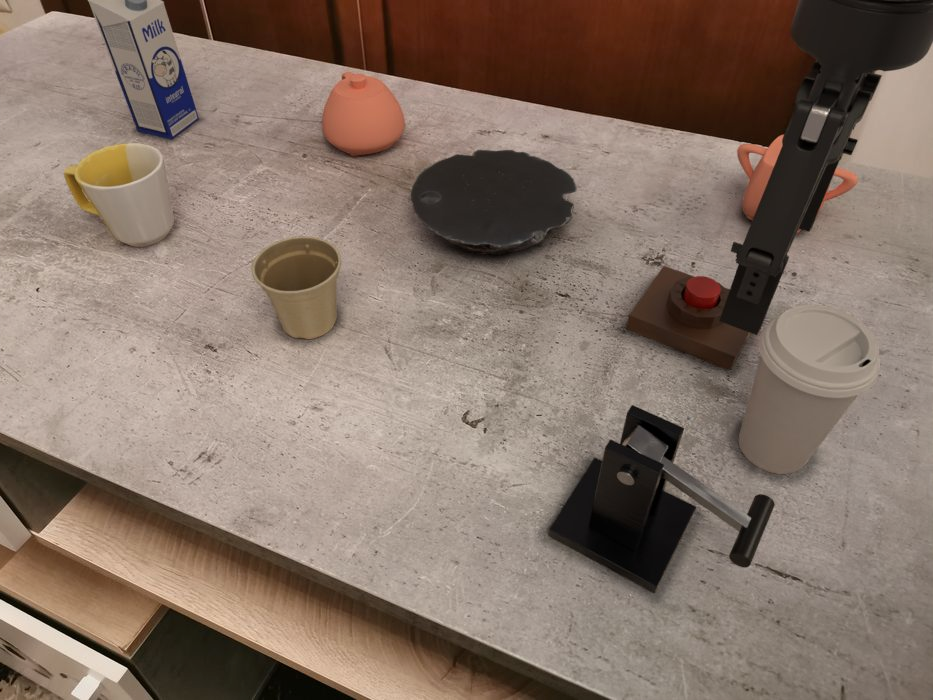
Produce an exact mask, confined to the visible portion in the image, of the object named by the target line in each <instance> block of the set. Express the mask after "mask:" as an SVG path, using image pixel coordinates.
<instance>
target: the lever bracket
mask: <svg viewBox="0 0 933 700" xmlns="http://www.w3.org/2000/svg"><path fill="white" fill-rule="evenodd" d="M638 425H640V426H641V427H643V428H644V429H645V430H647V431H648V432H650V433H651V434H653V435H654V436H655V437H657V438H658V439H660V440H661V441H663V442H664V443H665V444H667V445H668V446H669V447H668V449H667V450H666V452H665V454H664V457H666V458H667V459H669V460H670V461H671V462H673V463H675V459H676V456H677V453H678V449H679V447H680V444H681V441H682V437H683V434H684V432H685V428H684V427H683V426H680V424H677V423H674V422H672V421H670V420H667V419H665V418H664V417H663V418H662V417H661V416H658V415H656V414H653V413H651V412H650V411H648V410H645V409H643V408H641V407H638V406H636V405H633V404H632V405H631V406H630V407H629V409H628V410H627V411H626V416H625V419H624V425H623V429H622V433H621V436H620V442H617V441H616V440H613V439H609V440H608V442H607V443H606V445H605V447H604V451H603V456H602V459H599V458H597V457H593V459H592V460H591V463H590V464H589V465H588V467H587V468H586V470H585V471H584V473H583V475H582V476H581V478H580V479H579V481H578V483H577V484H576V486H575V487H574V489H573V491H572V492H571V494H570V495H569V497H568V499H567V500H566V502H565V503H564V505H563V506H562V508H561V509H560V511H559V513H558V514H557V516H556V517H555V518H554V521H553V522H552V524H551V525H550V526H549V528H548V537H550V538H552V539H554V540H555V541H557V542H559V543H561V544H562V545H564V546H566V547H568V548H570V549H572V550H573V551H575V552H578V553H579V554H581V555H583V556H585V557H586V558H588V559H590V560H592V561H594V562H596V563H598V564H599V565H601V566H603V567H605V568H606V569H609V570H611V571H612V572H614V573H616V574H618V575H619V576H621V577H622V578H625V579H627V580H629V581H630V582H632V583H634V584H636V585H637V586H639V587H642V589H645V590H647V591H649V592H651V593H652V594H656V592H657V590H658V589H659V586H660V584H661V582H662V580H663V578H664V577H665V574H666V572H667V570H668V568H669V565H670V564H671V561H672V559H673V557H674V556H675V554H676V552H677V549H678V547H679V545H680V543H681V541H682V539H683V538H684V535H685V533H686V531H687V529H688V527H689V524H690V523H691V521H692V519H693V517H694V515H695V512H696V510H697V506H696V505H693V503H690V502H688V501H686V500H684V499H682V498H679V497H678V496H675V495H674V494H672V493H669V492H667V491H665V489H666V486H667V483H668V481H667V480H665V479H664V478H662V477H661V474H662V471H663V468H664V464H662V463H660V462H658V461H656V460H654V459H651V458H649V457H647V456H645V455H643V454H641V453H639V452H637V451H634V450H632V449H630V448H628V447H626V446H624V445H622V444H623V442H624V441H625V439H626V438H627V437H628V436H629V435H630V433H631V432H632V431H633V430H634V429H635V428H636V427H637V426H638Z"/></svg>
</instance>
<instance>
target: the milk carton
mask: <svg viewBox="0 0 933 700" xmlns="http://www.w3.org/2000/svg"><path fill="white" fill-rule="evenodd" d="M87 2H88V3H89V6H90V9H91V11H92V14H93V17H94V20H95V22H96V25H97V27H98V31H99V33H100V36H101V38H102V40H103V41H102V42H103V43H104V46H105V49H106V51H107V54H108V57H109V59H110V62H111V64H112V67H113V70H114V72H115V75H116V78H117V81H118V83H119V86H120V88H121V91H122V94H123V96H124V99H125V102H126V105H127V107H128V110H129V113H130V115H131V118H132V120H133V123H134V125H135V128H136V131H137V132H139V133H142V134H147V135H151V136H155V137H159V138H164V139H167V140H171V141H172V140H173V139H174V138H176V137H178V135H180V134H181V133H183V132H184V131H186V130H187V129H188V128H189V127H191V126H192V125H194V124H195V123H196V122H197V121H199V119H200V117H199V115H198V114H199V113H198V110H197V107H196V104H195V100H194V98H193V94H192V91H191V87H190V84H189V81H188V78H187V75H186V71H185V68H184V65H183V61H182V58H181V55H180V51H179V49H178V45H177V41H176V39H175V36H174V32H173V29H172V25H171V23H170V19H169V16H168V12H167V9H166V6H165V1H163V0H87Z"/></svg>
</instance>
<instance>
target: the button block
mask: <svg viewBox="0 0 933 700" xmlns="http://www.w3.org/2000/svg"><path fill="white" fill-rule="evenodd" d="M693 277H695V276H693V275H691V274H689V273H686V272H682V271H680V270H678V269H676V268H675V269H674V268H671V267H669V266H667V265H663V266H662V268H660V270H659V272H658V273H657V274H656V276H655V277H654V279H653V280H652V282H651V283H650V284H649V286H648V287H647V288H646V290H645V291H644V293H643V294H642V296H641V297H640V298H639V300H638V302H637V303H636V304H635V305H634V307H633V308H632V310H631V311H630V313H628V317H627V322H626V327H625V330H628V331H630V332H633V333H635V334H638V335H641V336H642V337H645V338H648V339H651V340H653V341H656V342H657V343H661V344H663V345H666V346H668V347H670V348H673V349H675V350H678V351H679V352H682V353H685V354H688V355H690V356H693V357H694V358H697V359H700V360H703V361H705V362H707V363H710V364H712V365H715V366H718V367H720V368H722V369H725V370H727V371H731V370H732V368H733V367H734V365H735V363H736V362H737V360H738V358H739V356H740V353H741V352H742V350H743V348H744V346H745V344H746V342H747V341H748V339H749V337H750V335H751V333H749V332H747V331H744V330H742V329H739V328H736V327H734V326H731V325H728V324H726V323H723V322H721V321H719V320H720V317H721V314H722V312H723V309H724V306H725V303H726V300H727V297H728V294H729V291H730V288H727V287H725V286H723V285H722V284H721V283H720V282H718V281H716V282H717V283H718V284H719V285H720V288H721V291H720V295H719V298H718V301H717V304H716V305H715V306H714V307H713V308H711V309H698V308H695V307H692V306H690V305H688V304H687V303H686V302H685V300H684V297H683V296H684V292H685V288H686V284H687V282H688V280H689V279H691V278H693Z"/></svg>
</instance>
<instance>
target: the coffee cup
mask: <svg viewBox="0 0 933 700" xmlns="http://www.w3.org/2000/svg"><path fill="white" fill-rule="evenodd" d="M758 350H759V354H760V356H759V359H758V363H757V366H756V371H755V375H754V378H753V382H752V386H751V390H750V394H749V397H748V401H747V404H746V407H745V412H744V416H743V419H742V423H741V426H740V430H739V434H738V445H739V449H740V450H741V452H742V454H743V455H744V457H745V458H746V460H748V461H749V462H750V463H751V464H753V465H754V466H755V467H757V468H759V469H761V470H763V471H765V472H769V473H772V474H777V475H788V474H789V475H790V474H793V473H797V472H798V471H800V470H802V469H803V468H804V467H805V466H806V465H807V464H808V462H809V461H810V459H811V458H812V456H813V455H814V454H815V452H816V451H817V450H818V449H819V447H820V446H821V445H822V444H823V442H824V441H825V439H826V438H827V437H828V435H829V434H830V433H831V431H832V430H833V429H834V428H835V426H836V425H837V424H838V422H839V421H840V419H841V418H842V417H843V416H844V414H845V413H846V412H847V411H848V409H849V408H850V407H851V405H852V404H853V402H854V401H855V400H856V399H857V398H858V397H859V395H861V394H864V393H865V392H867V391H869V390H870V389H871V388H872V387H874V385H875V383H876V382H877V381H878V379H879V376H880V369H881V356H880V352H879V344H878V340H877V339H876V336H875V335H874V332H873V331H872V330H871V329H870V327H868V326H867V325H866V324H865V323H864V322H863V321H862V320H861V319H859V318H857V317H856V316H854V315H852V314H850V313H849V312H846V311H844V310H842V309H839V308H836V307H833V306H829V305H823V304H814V303H810V304H808V303H807V304H799V305H796V306H792V307H790V308H787V309H786V310H784V312H783V313H781V314H779V315H777V316H776V317H774V318H773V319H772V320H770V322H768V323H767V324H766V326H765V327H764V328H763V329H762V331H761V333H760V334H759V337H758Z"/></svg>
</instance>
